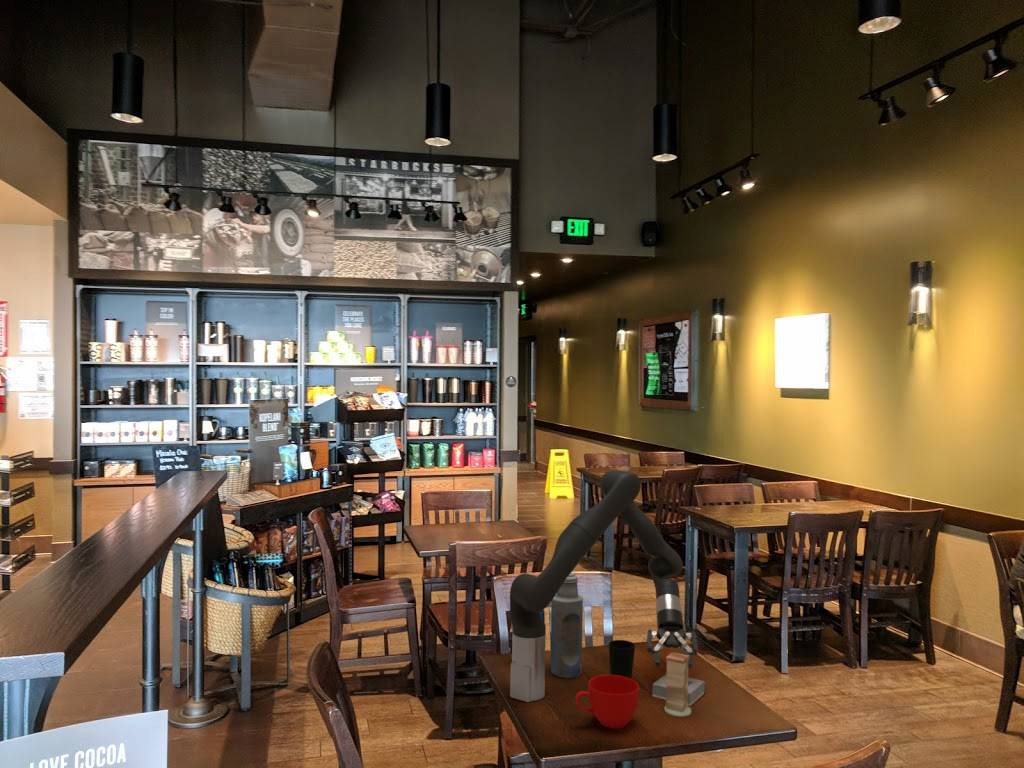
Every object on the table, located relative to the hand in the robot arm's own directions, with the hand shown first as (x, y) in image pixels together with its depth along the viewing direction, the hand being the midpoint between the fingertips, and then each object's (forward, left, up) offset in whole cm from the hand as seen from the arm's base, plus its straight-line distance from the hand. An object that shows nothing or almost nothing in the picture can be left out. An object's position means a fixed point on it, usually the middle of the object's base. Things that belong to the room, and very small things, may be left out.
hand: (673, 666), depth 209 cm
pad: (-9, -5, -8) cm, 13 cm away
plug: (-8, -4, -8) cm, 12 cm away
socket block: (+2, -1, -8) cm, 9 cm away
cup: (-2, +15, -9) cm, 18 cm away
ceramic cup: (-27, +7, -9) cm, 29 cm away
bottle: (-3, +33, -9) cm, 34 cm away
